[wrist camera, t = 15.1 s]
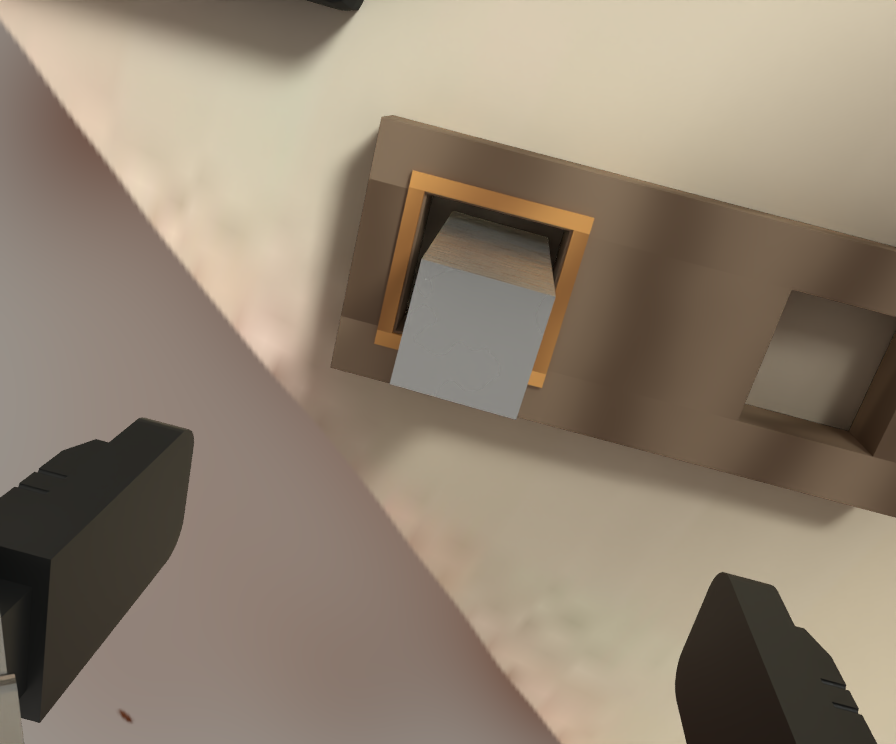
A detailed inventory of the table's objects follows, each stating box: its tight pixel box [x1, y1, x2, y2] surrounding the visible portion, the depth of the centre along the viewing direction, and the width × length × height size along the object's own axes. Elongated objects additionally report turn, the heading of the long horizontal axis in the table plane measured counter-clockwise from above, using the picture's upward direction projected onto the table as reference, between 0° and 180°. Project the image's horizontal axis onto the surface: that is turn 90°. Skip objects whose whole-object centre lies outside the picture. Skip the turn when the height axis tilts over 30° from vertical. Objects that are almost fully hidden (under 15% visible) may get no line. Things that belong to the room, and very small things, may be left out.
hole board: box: [330, 115, 896, 517], centre depth 31 cm, size 24×10×3 cm, turn 76°
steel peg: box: [390, 211, 556, 420], centre depth 28 cm, size 4×4×10 cm
